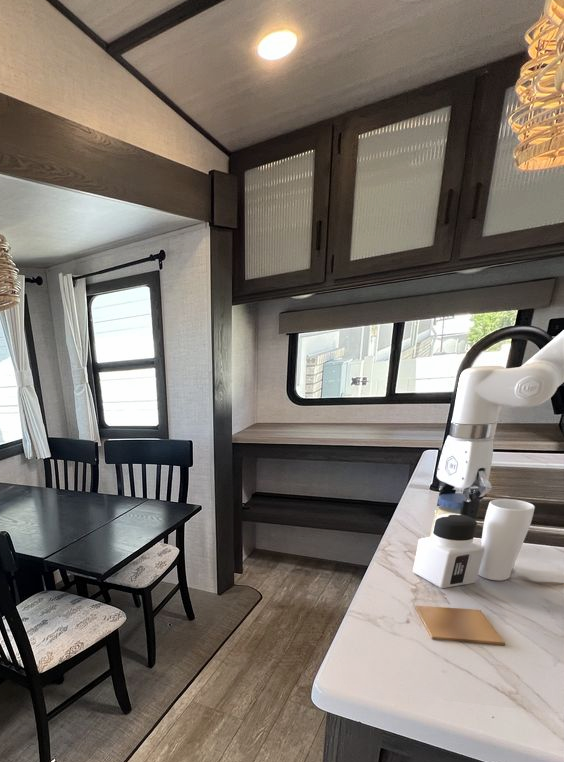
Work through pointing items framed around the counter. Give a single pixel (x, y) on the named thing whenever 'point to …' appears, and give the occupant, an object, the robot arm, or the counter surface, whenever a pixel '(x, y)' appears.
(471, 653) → the counter surface
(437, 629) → the cork coaster
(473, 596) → the counter surface
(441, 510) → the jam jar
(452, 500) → the lid
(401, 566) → the counter surface
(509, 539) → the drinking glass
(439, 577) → the container
